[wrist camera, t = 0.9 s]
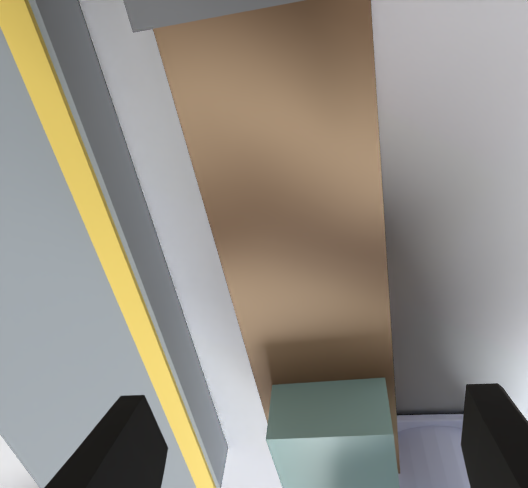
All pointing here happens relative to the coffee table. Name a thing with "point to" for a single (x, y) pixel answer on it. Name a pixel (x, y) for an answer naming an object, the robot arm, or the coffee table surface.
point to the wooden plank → (292, 184)
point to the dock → (83, 264)
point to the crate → (187, 10)
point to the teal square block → (332, 434)
